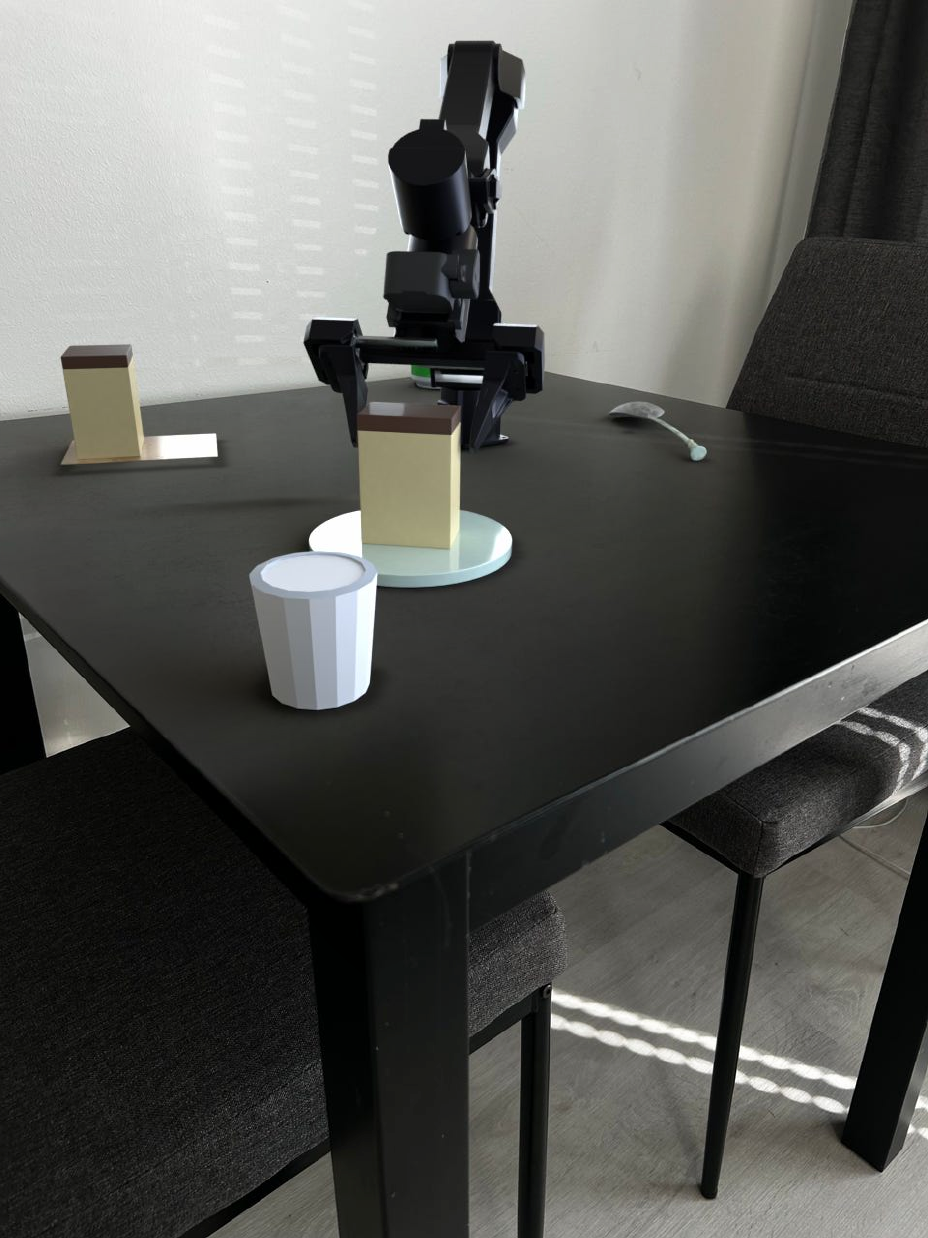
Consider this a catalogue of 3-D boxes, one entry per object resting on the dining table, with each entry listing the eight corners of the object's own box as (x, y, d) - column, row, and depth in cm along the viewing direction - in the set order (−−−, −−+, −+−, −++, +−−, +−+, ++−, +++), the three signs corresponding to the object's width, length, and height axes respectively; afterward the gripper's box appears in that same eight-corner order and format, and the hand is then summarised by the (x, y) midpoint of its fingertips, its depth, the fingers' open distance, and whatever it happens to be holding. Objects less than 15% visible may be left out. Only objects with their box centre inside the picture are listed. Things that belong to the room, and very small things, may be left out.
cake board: (217, 442, 102) (216, 433, 102) (218, 465, 93) (217, 456, 93) (74, 448, 98) (72, 439, 98) (61, 474, 90) (59, 464, 89)
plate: (439, 505, 82) (440, 494, 82) (553, 559, 71) (554, 547, 70) (275, 537, 74) (274, 526, 74) (373, 605, 62) (372, 592, 62)
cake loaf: (144, 439, 98) (131, 344, 94) (140, 456, 92) (126, 354, 88) (85, 442, 97) (69, 345, 93) (77, 459, 91) (60, 356, 87)
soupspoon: (650, 420, 118) (601, 424, 117) (651, 394, 116) (601, 397, 115) (726, 458, 98) (668, 464, 97) (728, 427, 97) (670, 432, 96)
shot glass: (266, 658, 55) (256, 549, 52) (380, 655, 56) (377, 547, 53) (252, 717, 49) (240, 598, 46) (380, 713, 49) (377, 595, 46)
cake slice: (374, 524, 74) (371, 401, 70) (459, 530, 74) (461, 405, 69) (361, 543, 70) (356, 414, 66) (450, 549, 69) (451, 418, 65)
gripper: (302, 205, 69) (265, 381, 64) (550, 209, 66) (532, 393, 61) (335, 303, 79) (305, 461, 74) (550, 310, 77) (535, 474, 72)
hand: (412, 447), depth 70 cm, fingers open, 9 cm apart
